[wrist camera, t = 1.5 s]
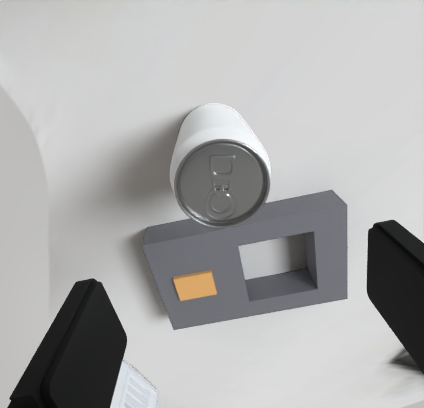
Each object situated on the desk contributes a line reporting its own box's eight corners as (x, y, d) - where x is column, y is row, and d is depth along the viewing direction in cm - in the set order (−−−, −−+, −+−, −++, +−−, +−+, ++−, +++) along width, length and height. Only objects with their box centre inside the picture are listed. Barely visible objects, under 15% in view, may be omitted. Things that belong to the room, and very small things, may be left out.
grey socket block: (147, 227, 32) (140, 248, 28) (332, 190, 31) (349, 206, 27) (175, 307, 37) (173, 332, 34) (334, 277, 36) (349, 301, 32)
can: (180, 170, 29) (169, 235, 18) (178, 101, 26) (163, 130, 16) (245, 170, 29) (271, 234, 19) (249, 102, 27) (284, 131, 16)
